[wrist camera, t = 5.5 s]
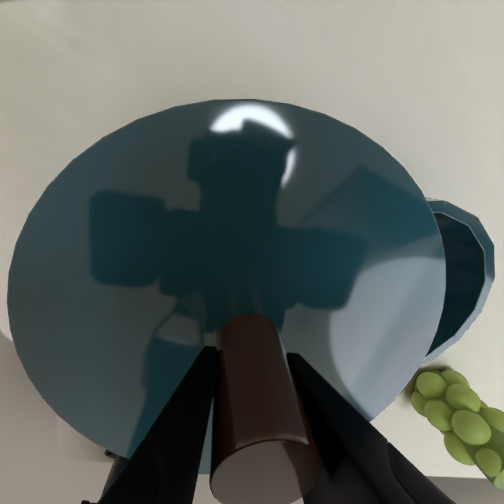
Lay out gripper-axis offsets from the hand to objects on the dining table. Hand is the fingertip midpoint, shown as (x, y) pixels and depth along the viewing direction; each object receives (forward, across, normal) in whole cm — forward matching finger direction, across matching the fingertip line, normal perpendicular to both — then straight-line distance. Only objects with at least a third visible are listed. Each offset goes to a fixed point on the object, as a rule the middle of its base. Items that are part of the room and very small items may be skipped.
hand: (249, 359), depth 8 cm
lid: (+1, 0, 0) cm, 1 cm away
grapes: (+13, -26, +14) cm, 32 cm away
